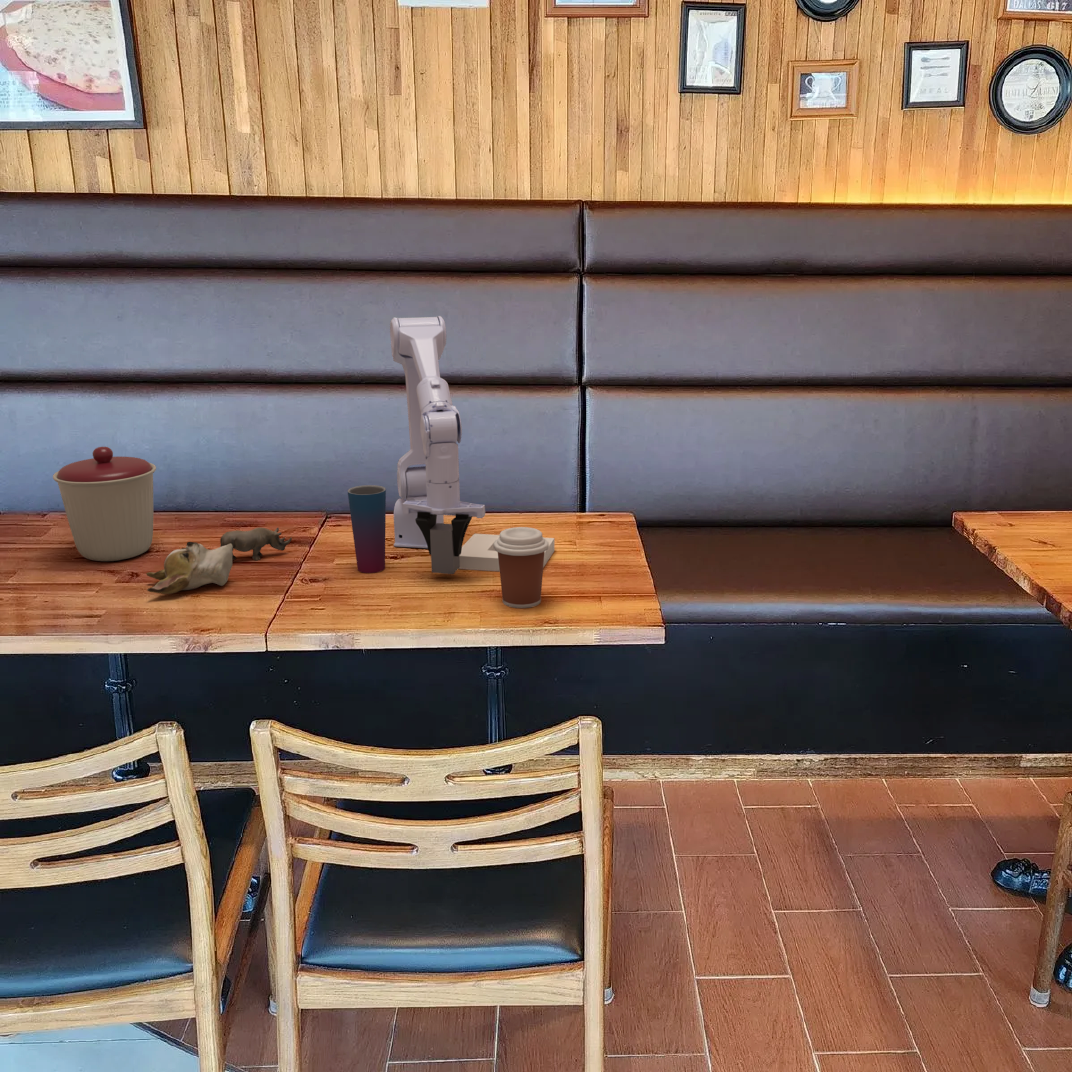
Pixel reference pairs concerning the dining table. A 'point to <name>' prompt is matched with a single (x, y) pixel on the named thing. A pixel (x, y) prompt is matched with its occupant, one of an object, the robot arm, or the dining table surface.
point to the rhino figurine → (254, 540)
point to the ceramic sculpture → (193, 568)
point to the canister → (108, 505)
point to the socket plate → (488, 553)
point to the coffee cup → (521, 565)
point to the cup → (368, 526)
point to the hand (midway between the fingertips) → (445, 553)
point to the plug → (443, 549)
